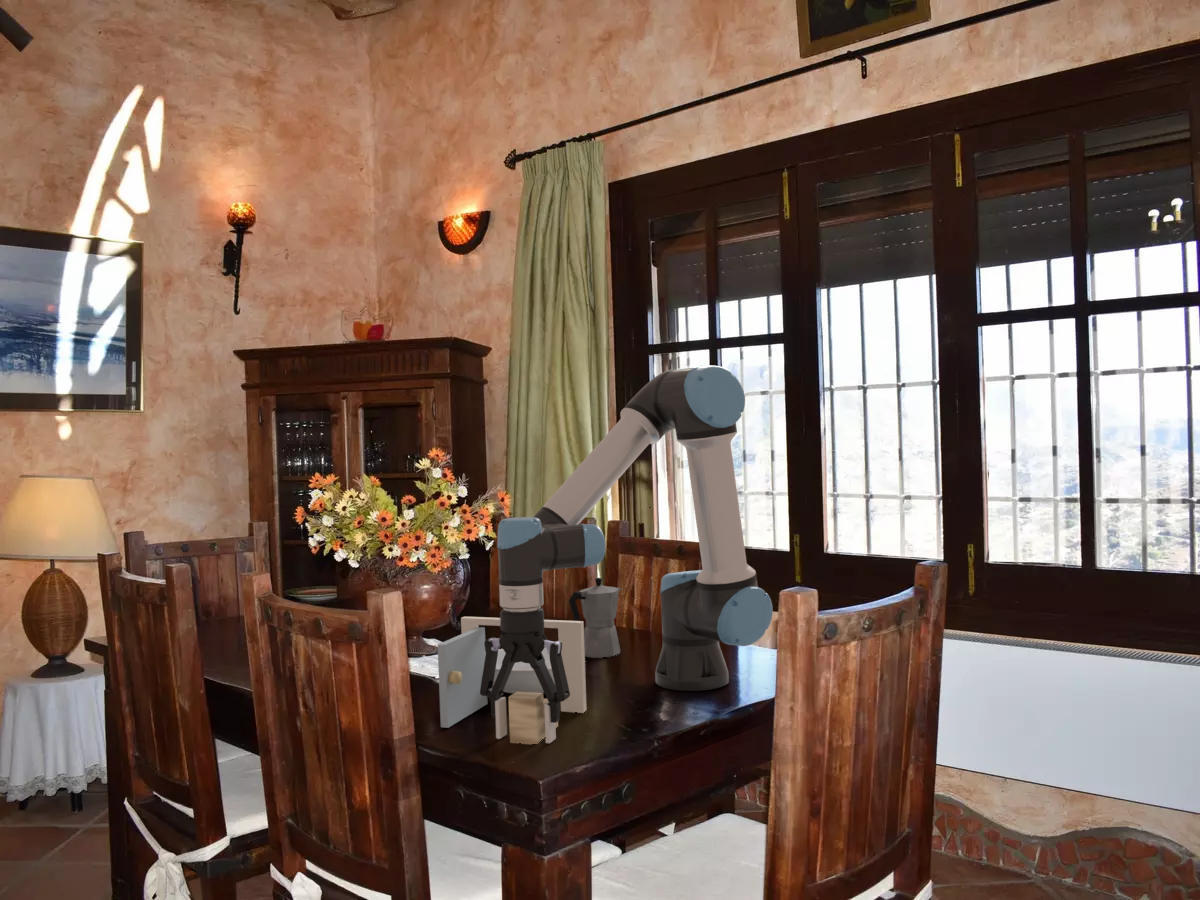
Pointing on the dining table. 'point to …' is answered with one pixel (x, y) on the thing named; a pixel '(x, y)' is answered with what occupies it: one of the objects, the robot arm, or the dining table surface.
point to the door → (461, 676)
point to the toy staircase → (527, 717)
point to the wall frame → (571, 655)
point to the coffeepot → (598, 619)
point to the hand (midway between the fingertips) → (525, 738)
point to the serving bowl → (522, 675)
